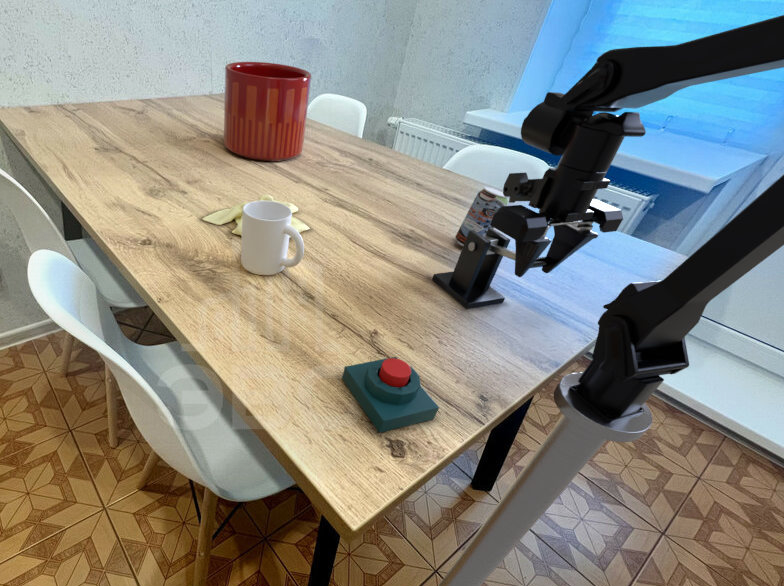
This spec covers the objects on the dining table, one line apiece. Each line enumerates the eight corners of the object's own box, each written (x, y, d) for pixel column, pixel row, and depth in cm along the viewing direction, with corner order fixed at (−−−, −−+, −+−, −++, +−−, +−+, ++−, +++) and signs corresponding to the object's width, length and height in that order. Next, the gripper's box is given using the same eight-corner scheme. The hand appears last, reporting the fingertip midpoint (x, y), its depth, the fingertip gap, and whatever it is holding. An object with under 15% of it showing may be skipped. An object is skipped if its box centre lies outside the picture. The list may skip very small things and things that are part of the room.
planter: (209, 152, 130) (209, 67, 117) (244, 134, 147) (247, 58, 133) (285, 169, 125) (293, 82, 111) (312, 148, 141) (322, 71, 128)
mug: (311, 272, 84) (320, 217, 77) (285, 289, 78) (292, 232, 72) (258, 249, 88) (262, 196, 82) (231, 265, 83) (232, 209, 76)
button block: (433, 419, 58) (444, 396, 56) (379, 433, 56) (387, 410, 53) (392, 368, 65) (399, 346, 62) (341, 378, 62) (347, 356, 60)
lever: (548, 270, 70) (553, 254, 69) (523, 274, 69) (527, 258, 67) (489, 248, 80) (492, 234, 79) (466, 251, 78) (469, 237, 77)
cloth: (289, 201, 108) (292, 174, 104) (324, 237, 95) (329, 208, 91) (195, 208, 100) (194, 179, 96) (219, 247, 88) (219, 216, 84)
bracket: (502, 303, 81) (530, 246, 74) (466, 309, 78) (491, 251, 71) (466, 274, 88) (488, 220, 81) (431, 279, 85) (451, 223, 78)
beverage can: (447, 241, 98) (467, 184, 91) (473, 238, 101) (495, 182, 93) (467, 255, 94) (490, 197, 86) (493, 251, 97) (518, 194, 89)
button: (413, 384, 57) (417, 374, 56) (388, 390, 56) (392, 379, 55) (397, 366, 60) (401, 356, 59) (373, 371, 59) (376, 360, 57)
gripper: (583, 147, 69) (537, 245, 79) (484, 150, 63) (448, 256, 73) (653, 171, 61) (592, 276, 71) (547, 177, 55) (497, 291, 65)
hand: (531, 273), depth 70 cm, fingers closed on lever, 5 cm apart
